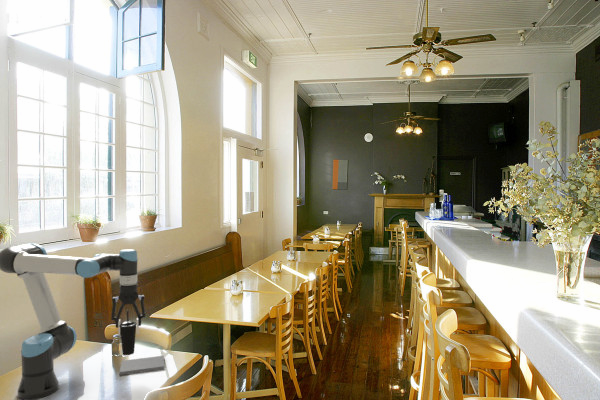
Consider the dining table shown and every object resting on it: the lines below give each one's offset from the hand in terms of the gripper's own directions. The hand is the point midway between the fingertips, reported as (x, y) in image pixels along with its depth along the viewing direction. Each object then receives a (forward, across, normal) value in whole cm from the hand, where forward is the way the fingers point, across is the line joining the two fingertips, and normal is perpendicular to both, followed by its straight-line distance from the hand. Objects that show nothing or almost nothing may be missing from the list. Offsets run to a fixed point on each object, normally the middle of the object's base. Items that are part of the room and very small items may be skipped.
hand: (128, 333), depth 195 cm
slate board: (+21, +6, +14) cm, 26 cm away
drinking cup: (+9, 0, 0) cm, 9 cm away
